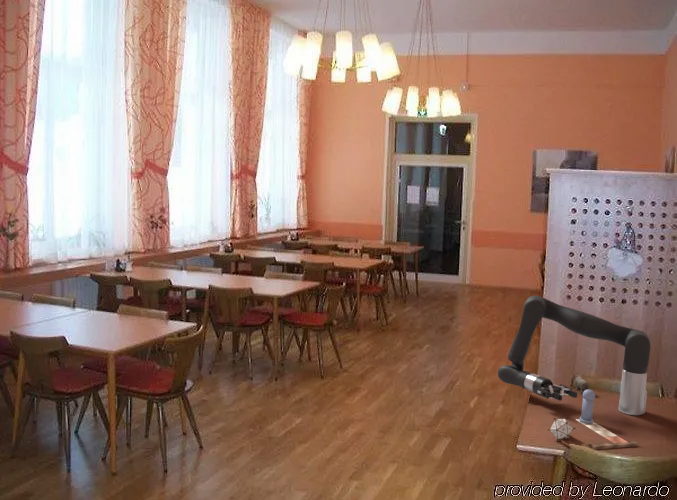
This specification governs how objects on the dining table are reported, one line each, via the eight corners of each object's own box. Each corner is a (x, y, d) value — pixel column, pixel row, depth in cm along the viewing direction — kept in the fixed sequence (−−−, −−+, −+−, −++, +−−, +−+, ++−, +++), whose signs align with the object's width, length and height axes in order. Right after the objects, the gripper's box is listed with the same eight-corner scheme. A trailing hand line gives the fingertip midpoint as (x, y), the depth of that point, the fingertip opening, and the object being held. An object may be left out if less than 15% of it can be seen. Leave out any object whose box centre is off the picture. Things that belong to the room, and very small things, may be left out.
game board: (593, 419, 283) (593, 417, 283) (637, 446, 259) (637, 443, 258) (552, 422, 278) (553, 419, 278) (594, 449, 253) (594, 446, 253)
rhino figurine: (578, 385, 327) (579, 372, 327) (590, 395, 314) (591, 382, 313) (569, 385, 327) (570, 372, 326) (581, 395, 313) (582, 382, 313)
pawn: (587, 419, 281) (591, 387, 279) (595, 423, 276) (599, 391, 274) (576, 419, 279) (579, 387, 278) (584, 424, 275) (587, 391, 273)
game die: (564, 451, 260) (577, 436, 253) (542, 440, 261) (554, 425, 254) (568, 432, 267) (580, 417, 260) (546, 422, 268) (558, 406, 261)
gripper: (526, 378, 294) (557, 389, 280) (551, 374, 301) (582, 385, 288) (525, 395, 295) (555, 408, 281) (549, 391, 302) (580, 403, 289)
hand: (569, 396), depth 285 cm, fingers open, 8 cm apart
